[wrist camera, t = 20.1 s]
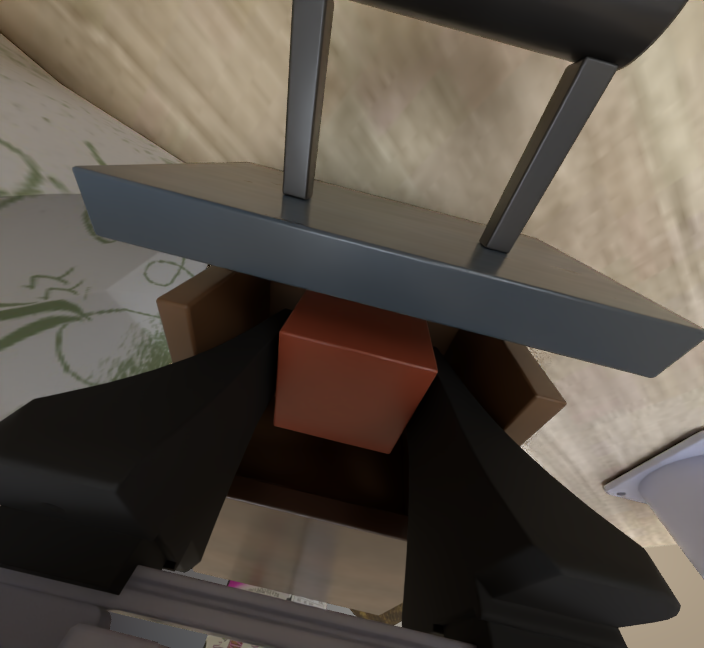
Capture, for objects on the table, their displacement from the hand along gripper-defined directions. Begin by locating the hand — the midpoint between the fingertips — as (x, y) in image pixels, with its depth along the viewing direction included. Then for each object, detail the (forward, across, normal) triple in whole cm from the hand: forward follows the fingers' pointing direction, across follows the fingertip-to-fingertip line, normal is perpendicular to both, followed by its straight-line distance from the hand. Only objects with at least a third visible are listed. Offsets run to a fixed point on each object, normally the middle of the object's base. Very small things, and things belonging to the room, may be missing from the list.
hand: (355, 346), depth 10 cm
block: (+1, 0, 0) cm, 1 cm away
